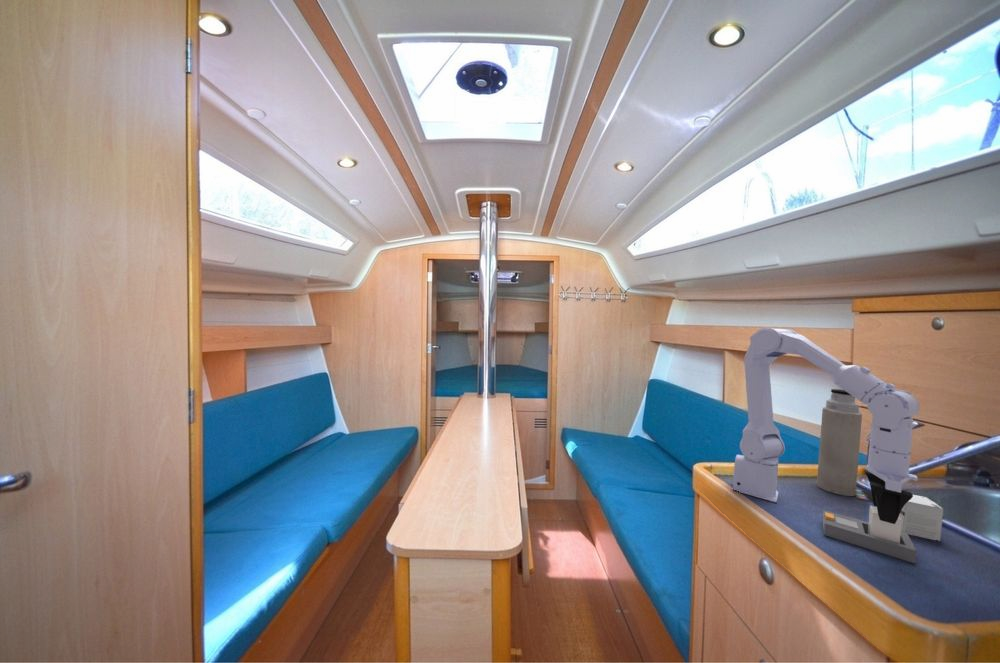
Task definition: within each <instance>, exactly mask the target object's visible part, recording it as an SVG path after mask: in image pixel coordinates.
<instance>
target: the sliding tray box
mask: <svg viewBox="0 0 1000 663" xmlns="http://www.w3.org/2000/svg"><path fill="white" fill-rule="evenodd" d="M868 524H869V521H865V520H862V519H859V518H854V517H850V516H846V515H843V514H839V513H836V512H833V511H829V510H825V509H823V510H822V527H823V528H822V529H823V536H827V537H830V538H833V539H835V540H839V541H843V542H846V543H849V544H852V545H855V546H858V547H862V548H864V549H868V550H871V551H875V552H877V553H880V554H883V555H886V556H890V557H893V558H895V559H896V558H897V559H899V560H903V561H906V562H909V563H912V564H916V563H917V562H916V561H917V560H916V559H917V549H916V547H915V546H914V543H913V541H912V540H911V538H910V536H909V534H907V533H904V532H901V535H900V543H896V542H893V541H889V540H886V539H883V538H879V537H876V536H873V535H869V534H868Z"/></svg>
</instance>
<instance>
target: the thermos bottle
mask: <svg viewBox="0 0 1000 663" xmlns="http://www.w3.org/2000/svg"><path fill="white" fill-rule="evenodd" d="M830 392H831V395H830V398H828V399H826V403H825V406H823V407H822V412H821V413H822V414H821V425H820V438H819V439H820V440H819V451H818V462H817V463H818V466H817V476H816V478H817V479H816V486H818V488H820V489H822V490H824V491H827V492H830V493H833V494H837V495H840V496H846V497H855V494H856V489H857V483H858V482H857V481H858V471H859V457H860V456H859V455H860V454H859V453H860V446H861V433H862V423H863V422H862V420H863V413H862V412H860V404H859V403H857V402H856V398H855V397H854V396H852V395H851V394H849V393H848V392H846V391H845V390H843V389H841V388H840V389H837V388H831V389H830Z"/></svg>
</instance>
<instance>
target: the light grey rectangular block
mask: <svg viewBox="0 0 1000 663" xmlns="http://www.w3.org/2000/svg"><path fill="white" fill-rule="evenodd" d="M868 515H869V516H868V522H869V524H868V534H869V535H873V536H876V537H879V538H883V539H886V540H889V541H893V542H896V543H900V535H901V523H902V520H901V518H900V516H899V517H898V519H897V521H896V523H895V524H892V523H888V522H885V521H881V520H880V519H879V516H878V511H877V507H875V506H874V505H869V514H868Z"/></svg>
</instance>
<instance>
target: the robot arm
mask: <svg viewBox="0 0 1000 663" xmlns="http://www.w3.org/2000/svg"><path fill="white" fill-rule="evenodd" d="M749 339H750V340H749V341H750V343H749V346H748V348H747V351H746V353H745V355H744V358H743V359H744V373H745V375H744V376H745V389H746V391H745V392H746V403H747V417H748V418H747V419H748V420H747V421H748V422H747V424H746V425H745V427H744V428H743V429H742V438H741V439H740V441H739V450H740V451H741V454H736V456H735V458H734V464H733V465H734V467H733V475H732V482H733V483H732V489H733V488H734V489H735V490H737V491H736V492H738V491H739V492H738V493H742V494H746V495H748V496H752V497H756V498H758V499H763V500H764V501H765V500H766V501H768V502H772V503H778V498H779V491H778V490H777V485H778V482H777V481H778V473H779V472H778V471H779V457H781V456H782V455H784V453H785V451H786V447H785V443H784V441H783V439H782V437H781V433H780V430H779V428H778V427H777V426H776V425H775V424H774V411H773V398H772V397H773V396H772V384H771V372H770V365H771V363H773V362H775V360H777V359H778V358H780V357H781V356H784V355H787V354H790V355H796V356H797V355H798V356H800V357H801V358H803V359H805V360H806V361H808V362H810V363H811V364H813V365H815V366H816V367H818V368H819V369H821V370H823V371H824V372H826V373H827V374H830V375H831V376H832V378H833V383H834V384H835V385H836V386H838V387H839V388H840V389H841V390H845V391H846V392H848V393H849V394H851V395H852V396H854V397H855V399H856V400H858V401H860V402H861V403H862V404H864V405H866V407H867V409H868V411H869V413H870V414H871V417H872V419H871V425H870V426H871V427H870V436H869V437H870V438H869V447H868V448H869V449H868V458H867V464H866V466H865V469H864V470H863V471H864V474H865V475H866V477H867V480H868V483H869V488H870V492H871V494H872V500H873V503H872V504H873V506H874V507H877V511H878V516H879V519H880V520H881V521H885V522H888V523H892V524H895V523H896V521H897V519H898V517H899V515H900V512H901V510H902V508H903V507H904V505H905V504H906V503H907V502H908V501H909V500H910V499H912V497H913V495H914V494H913V493H912V492H910V491H905V490H903V489H902V488H903V486H902V485H903V484H904V483H907V482H908V481H914V482H917V481H918V476H917V475H915V474H912V473H910V463H911V455H912V454H911V453H912V452H911V451H912V442H913V434H914V433H913V432H914V431H913V423H914V418H913V417H914V416H916V415H917V414H918V413H919V411H920V409H921V407H920V403H919V401H918V399H917V398H916V397H915V396H913V395H912V393H911V392H909V391H906V390H902V389H895V388H896V385H895V384H893V383H891V382H889V383H886V382H885V381H883V380H882V379H881V378H878V377H877V376H875V375H874V374H873V373H871V371H872V370H871V369H870V368H868V367H867V366H861V367H860V366H858V365H857V364H853V365H852V364H850V365H846V364H844V363H843V362H841V360H839V359H837V358H836V357H835V356H833V355H831V354H830V353H829V352H827V351H826V350H824V349H823V348H821V347H819V345H817V344H815V343H814V342H812V341H811V340H810V339H809V338H807V337H806V336H804V335H803V334H800V333H797V332H796V331H795V330H793V329H790V328H772V327H761V328H760V329H759V330H757V331H755V333H753V334H752V335H751V336H750V337H749Z"/></svg>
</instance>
